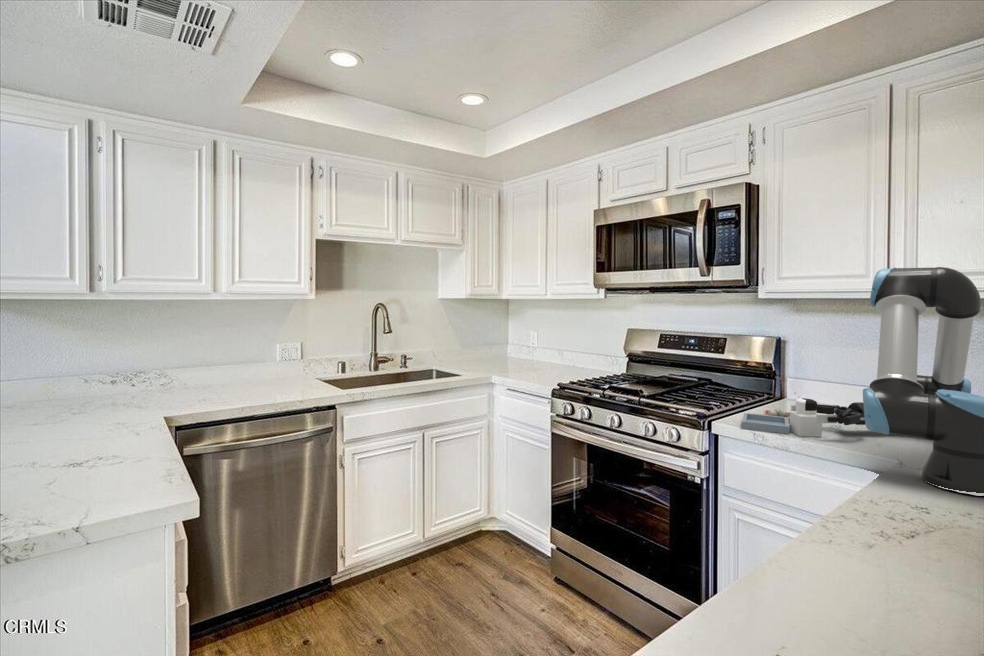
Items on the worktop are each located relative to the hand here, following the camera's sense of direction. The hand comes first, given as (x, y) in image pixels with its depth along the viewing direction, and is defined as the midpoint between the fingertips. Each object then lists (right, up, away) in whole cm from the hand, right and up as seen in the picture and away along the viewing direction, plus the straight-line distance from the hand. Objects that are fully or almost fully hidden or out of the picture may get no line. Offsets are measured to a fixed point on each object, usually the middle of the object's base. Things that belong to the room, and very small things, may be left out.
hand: (803, 413), depth 171 cm
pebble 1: (0, -3, +19) cm, 19 cm away
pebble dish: (+2, -5, +20) cm, 21 cm away
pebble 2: (+4, -3, +21) cm, 22 cm away
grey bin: (-8, -6, +10) cm, 14 cm away
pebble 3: (+3, -4, +17) cm, 18 cm away
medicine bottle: (+1, -7, 0) cm, 7 cm away
